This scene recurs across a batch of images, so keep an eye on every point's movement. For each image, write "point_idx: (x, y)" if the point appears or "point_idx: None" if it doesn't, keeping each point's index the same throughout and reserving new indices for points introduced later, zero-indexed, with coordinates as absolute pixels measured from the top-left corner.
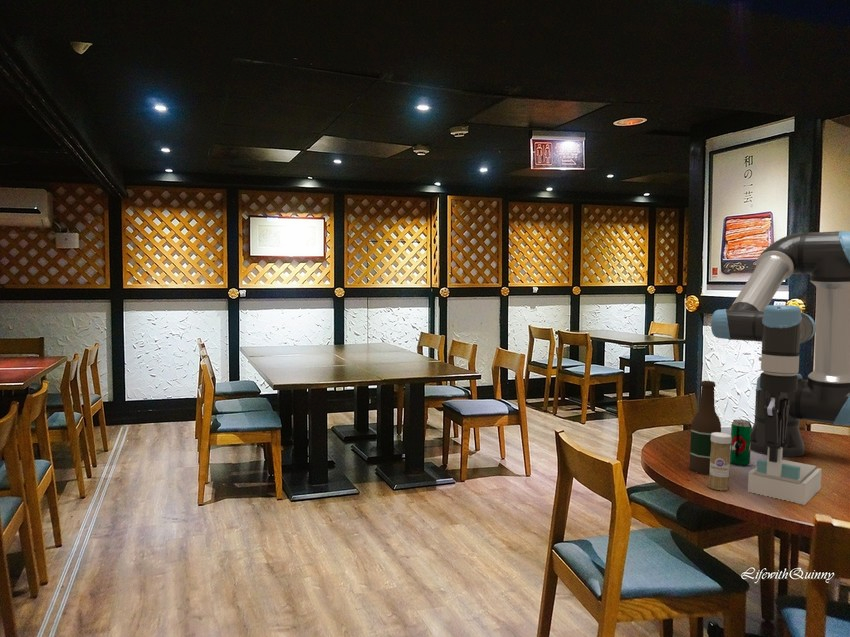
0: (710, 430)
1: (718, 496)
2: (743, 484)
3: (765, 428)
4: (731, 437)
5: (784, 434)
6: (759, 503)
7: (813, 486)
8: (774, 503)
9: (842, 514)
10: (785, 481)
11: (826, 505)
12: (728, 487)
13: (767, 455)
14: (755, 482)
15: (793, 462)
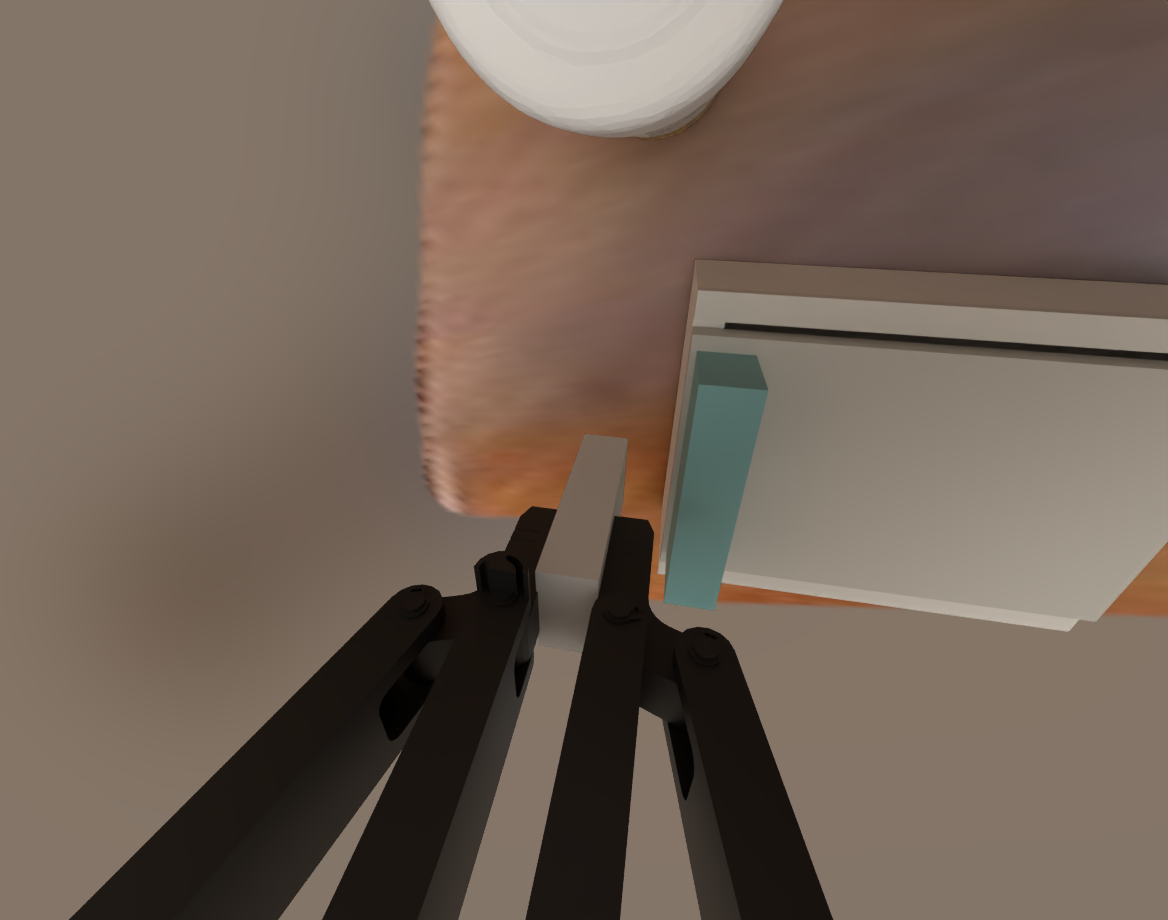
0: None
1: (484, 129)
2: (874, 186)
3: (224, 770)
4: (643, 128)
5: (676, 776)
6: (542, 352)
7: None
8: (595, 407)
9: None
10: (668, 492)
11: None
12: (663, 137)
13: (556, 514)
14: (690, 321)
15: (1156, 518)
